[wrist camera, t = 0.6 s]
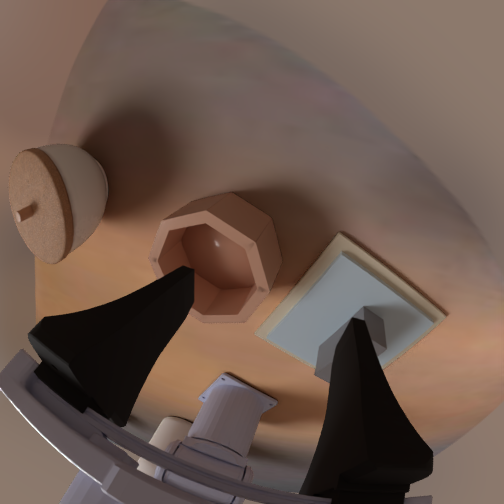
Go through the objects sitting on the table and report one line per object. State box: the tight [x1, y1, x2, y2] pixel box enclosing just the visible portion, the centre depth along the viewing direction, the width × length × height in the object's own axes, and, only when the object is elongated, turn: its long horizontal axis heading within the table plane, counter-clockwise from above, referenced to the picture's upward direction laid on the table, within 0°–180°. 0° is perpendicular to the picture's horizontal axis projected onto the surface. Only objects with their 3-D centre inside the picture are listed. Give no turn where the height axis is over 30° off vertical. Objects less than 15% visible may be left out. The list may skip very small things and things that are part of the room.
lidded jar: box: [9, 144, 109, 264], centre depth 21 cm, size 11×11×9 cm
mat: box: [254, 232, 446, 369], centre depth 23 cm, size 13×13×1 cm
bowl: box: [148, 192, 283, 323], centre depth 21 cm, size 9×9×4 cm
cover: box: [267, 251, 434, 383], centre depth 21 cm, size 11×11×4 cm
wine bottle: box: [137, 416, 193, 477], centre depth 31 cm, size 10×10×30 cm
